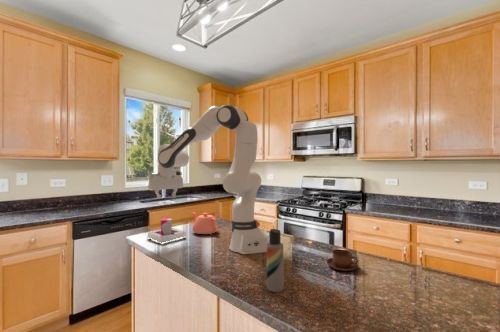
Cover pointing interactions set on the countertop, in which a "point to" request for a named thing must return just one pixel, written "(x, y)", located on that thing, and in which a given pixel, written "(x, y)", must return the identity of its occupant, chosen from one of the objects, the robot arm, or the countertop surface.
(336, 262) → the cup and saucer
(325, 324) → the countertop surface
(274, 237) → the lotion bottle
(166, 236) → the frame
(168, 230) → the supplement box
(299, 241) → the countertop surface
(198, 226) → the teapot
